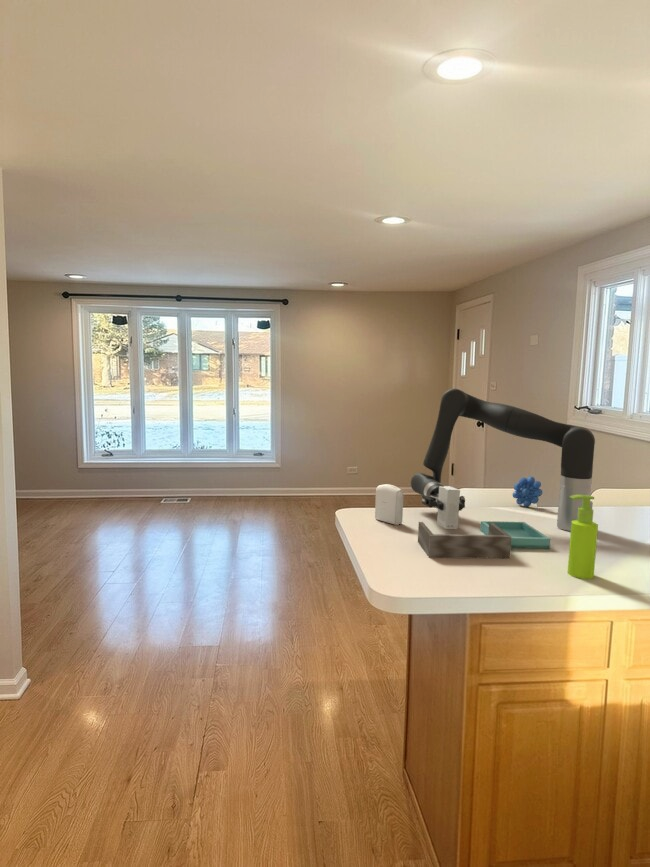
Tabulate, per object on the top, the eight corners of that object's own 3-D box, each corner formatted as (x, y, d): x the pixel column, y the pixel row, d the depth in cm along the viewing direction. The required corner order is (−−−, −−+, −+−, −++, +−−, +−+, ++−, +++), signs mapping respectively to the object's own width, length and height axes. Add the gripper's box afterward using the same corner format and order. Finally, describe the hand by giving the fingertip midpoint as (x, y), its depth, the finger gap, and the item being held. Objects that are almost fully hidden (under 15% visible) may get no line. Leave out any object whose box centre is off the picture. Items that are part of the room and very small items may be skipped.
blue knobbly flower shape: (546, 508, 203) (548, 477, 202) (537, 510, 199) (540, 479, 198) (517, 502, 212) (519, 472, 211) (508, 504, 207) (510, 474, 206)
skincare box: (458, 529, 162) (461, 490, 161) (444, 529, 161) (448, 489, 160) (448, 523, 168) (451, 485, 167) (435, 523, 167) (438, 485, 165)
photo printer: (372, 519, 180) (374, 483, 179) (381, 517, 183) (383, 481, 182) (395, 526, 172) (396, 488, 171) (404, 524, 175) (405, 487, 174)
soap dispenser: (559, 570, 135) (565, 492, 133) (585, 570, 136) (591, 493, 134) (571, 579, 130) (578, 498, 128) (598, 578, 130) (605, 498, 128)
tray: (523, 531, 171) (524, 521, 170) (549, 548, 153) (550, 538, 153) (480, 530, 170) (480, 521, 170) (501, 548, 152) (502, 538, 152)
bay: (491, 542, 157) (493, 523, 156) (509, 558, 144) (511, 536, 143) (417, 541, 156) (418, 521, 155) (428, 557, 142) (430, 535, 142)
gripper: (416, 483, 177) (428, 494, 160) (459, 483, 178) (475, 495, 161) (415, 505, 178) (427, 519, 161) (457, 506, 179) (474, 519, 162)
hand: (451, 507), depth 161 cm, fingers closed on skincare box, 5 cm apart
